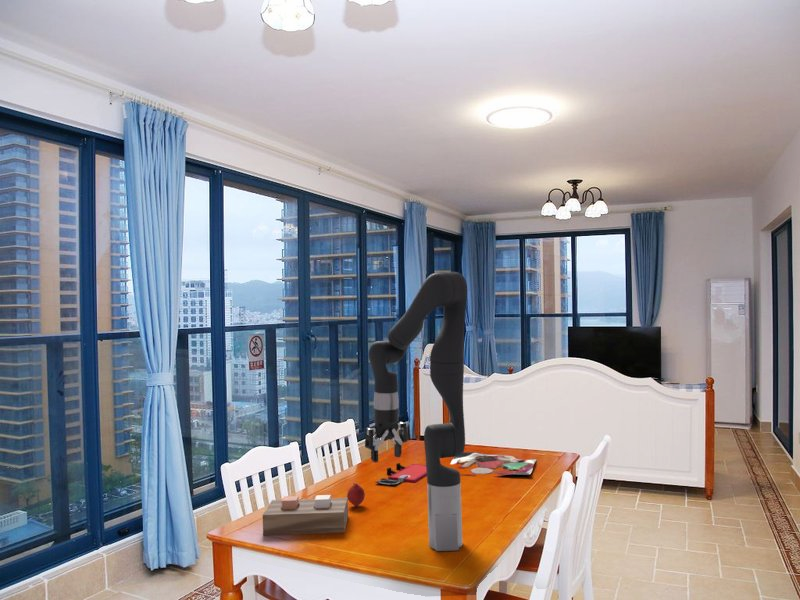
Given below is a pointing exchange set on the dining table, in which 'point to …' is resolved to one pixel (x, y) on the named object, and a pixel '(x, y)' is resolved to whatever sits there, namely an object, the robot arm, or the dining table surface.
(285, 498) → the key terracotta
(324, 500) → the white cube
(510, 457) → the multicolored flat sheet
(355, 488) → the onion
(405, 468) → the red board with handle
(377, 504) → the dining table surface
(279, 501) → the wooden button box
